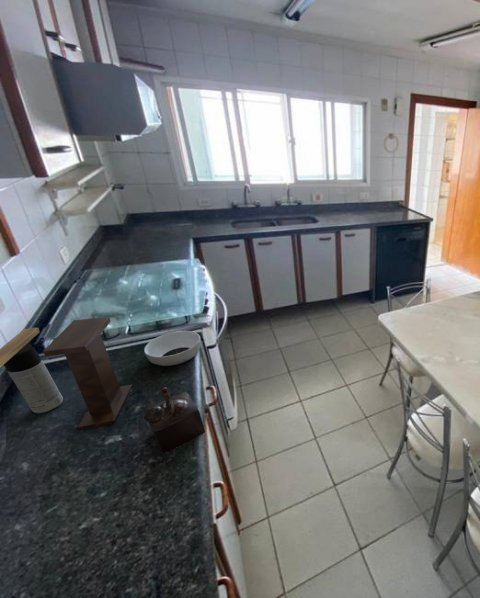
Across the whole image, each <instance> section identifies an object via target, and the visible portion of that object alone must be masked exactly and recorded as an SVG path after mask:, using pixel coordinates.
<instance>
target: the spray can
mask: <svg viewBox="0 0 480 598" xmlns="http://www.w3.org/2000/svg"><path fill="white" fill-rule="evenodd" d="M3 367H4V368H5V371H6V372H7V374H8V375H9V377H10V378H11V380H12V382H13V383H14V384H15V387H17V389H18V391H19V392H20V394H21V395H22V398H23V399H24V401H25V402H26V404H27V405H28V407H29V408H30V410H31V412H33V413H34V414H44V413H47V412H50V411H52V410H55V409H56V408H58V407H59V406H61V405H62V404H63V401H64V397H63V395H62V394H61V392H60V389H59V388H58V386H57V385H56V382H55V381H54V379H53V378H52V377H53V376H52V375H51V374H50V372H49V370H48V367H47V366H46V365H45V363H44V361H43V359H42V357H41V356H40V354H39V352H37V351H36V349H35V347H33V346H32V345H31V344H30V343H29V342H28V343H27V344H26V345H25V346H24V347H23V348H22V349H20V350H19V351H18V352H17V353H16V354H15V355H14V356H13V357H12V358H10V359H9V360H8V361H7V362H6V363H5V364H4V365H3Z"/></svg>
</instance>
